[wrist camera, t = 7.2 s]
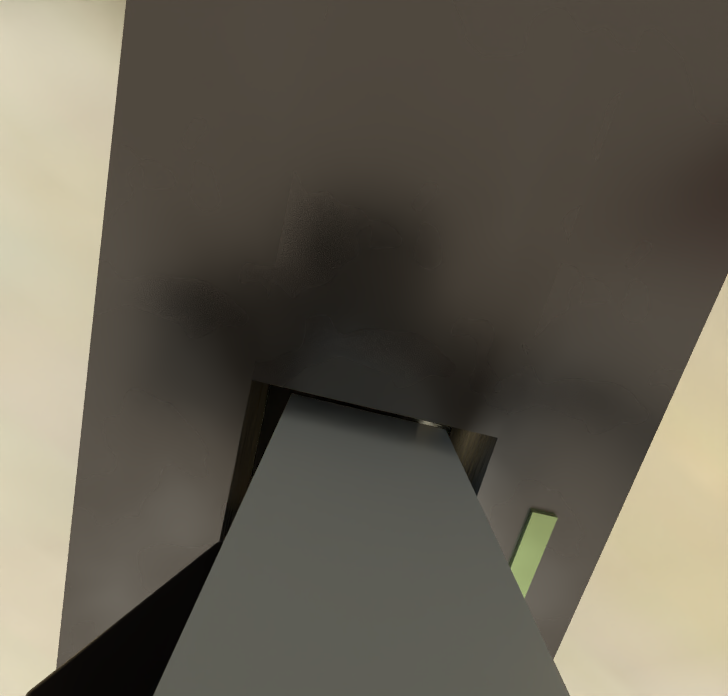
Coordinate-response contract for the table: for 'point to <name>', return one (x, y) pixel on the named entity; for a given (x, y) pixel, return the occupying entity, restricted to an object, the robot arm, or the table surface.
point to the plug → (360, 575)
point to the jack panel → (397, 261)
